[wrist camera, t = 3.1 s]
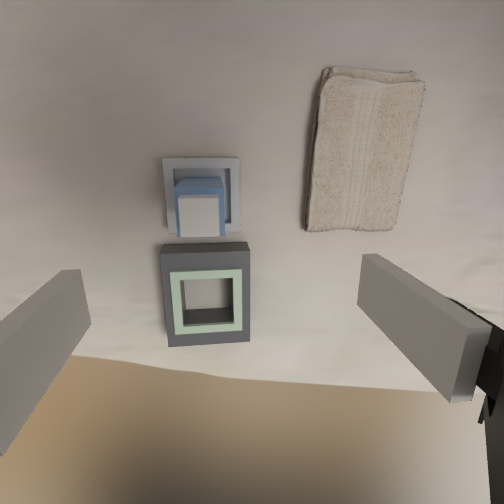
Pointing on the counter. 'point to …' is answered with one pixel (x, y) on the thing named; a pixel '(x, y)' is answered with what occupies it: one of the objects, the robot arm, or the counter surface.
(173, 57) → the counter surface
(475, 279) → the counter surface
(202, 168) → the grey square tray
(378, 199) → the washcloth
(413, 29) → the counter surface
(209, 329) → the port block
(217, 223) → the plug
